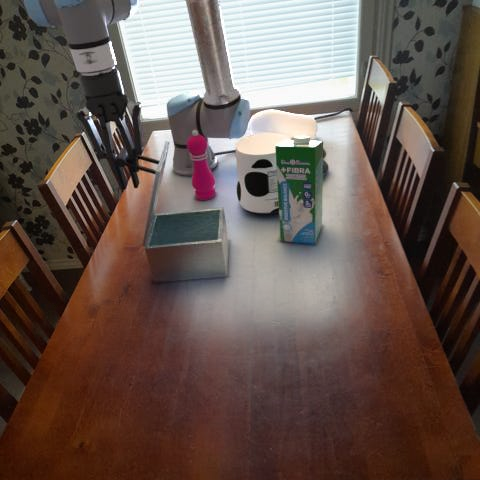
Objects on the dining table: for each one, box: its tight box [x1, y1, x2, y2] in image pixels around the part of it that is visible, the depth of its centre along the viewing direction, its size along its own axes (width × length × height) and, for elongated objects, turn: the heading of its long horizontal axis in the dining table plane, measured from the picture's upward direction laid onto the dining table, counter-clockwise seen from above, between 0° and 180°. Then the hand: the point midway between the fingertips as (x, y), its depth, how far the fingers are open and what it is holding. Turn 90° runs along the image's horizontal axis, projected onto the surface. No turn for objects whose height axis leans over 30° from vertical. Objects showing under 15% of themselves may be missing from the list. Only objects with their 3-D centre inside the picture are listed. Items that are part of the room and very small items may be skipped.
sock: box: [248, 109, 319, 141], centre depth 164 cm, size 25×10×14 cm
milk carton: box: [275, 136, 324, 245], centre depth 111 cm, size 9×9×25 cm
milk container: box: [235, 132, 291, 215], centre depth 127 cm, size 17×17×18 cm
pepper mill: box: [187, 130, 217, 201], centre depth 135 cm, size 7×7×20 cm
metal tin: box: [144, 207, 229, 283], centre depth 112 cm, size 18×16×10 cm
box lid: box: [115, 140, 170, 248], centre depth 102 cm, size 19×16×10 cm
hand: (131, 185), depth 102 cm, fingers closed on box lid, 2 cm apart
